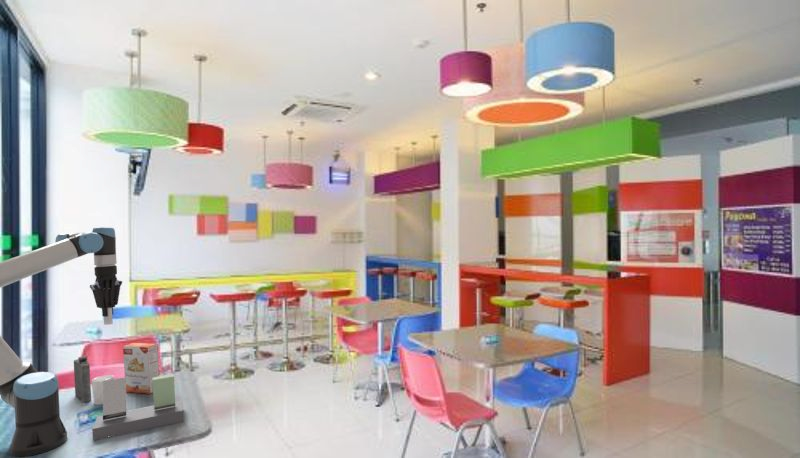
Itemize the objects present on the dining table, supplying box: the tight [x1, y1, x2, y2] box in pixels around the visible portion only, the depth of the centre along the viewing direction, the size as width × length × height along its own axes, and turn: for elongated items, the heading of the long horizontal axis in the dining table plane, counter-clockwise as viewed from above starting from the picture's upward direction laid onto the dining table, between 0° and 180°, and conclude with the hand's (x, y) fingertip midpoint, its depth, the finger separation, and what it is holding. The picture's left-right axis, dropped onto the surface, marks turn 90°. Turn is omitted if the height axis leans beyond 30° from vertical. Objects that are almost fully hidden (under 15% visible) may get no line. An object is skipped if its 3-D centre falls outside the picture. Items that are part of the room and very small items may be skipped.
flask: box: [73, 355, 92, 404], centre depth 195 cm, size 4×14×18 cm, turn 49°
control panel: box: [91, 399, 185, 441], centre depth 165 cm, size 12×28×4 cm, turn 117°
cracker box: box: [122, 342, 160, 395], centre depth 200 cm, size 14×6×21 cm, turn 73°
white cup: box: [91, 374, 115, 406], centre depth 189 cm, size 8×8×10 cm
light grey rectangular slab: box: [102, 376, 127, 420], centre depth 163 cm, size 2×7×13 cm, turn 116°
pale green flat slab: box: [152, 373, 176, 410], centre depth 167 cm, size 2×7×13 cm, turn 118°
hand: (108, 324), depth 181 cm, fingers closed
